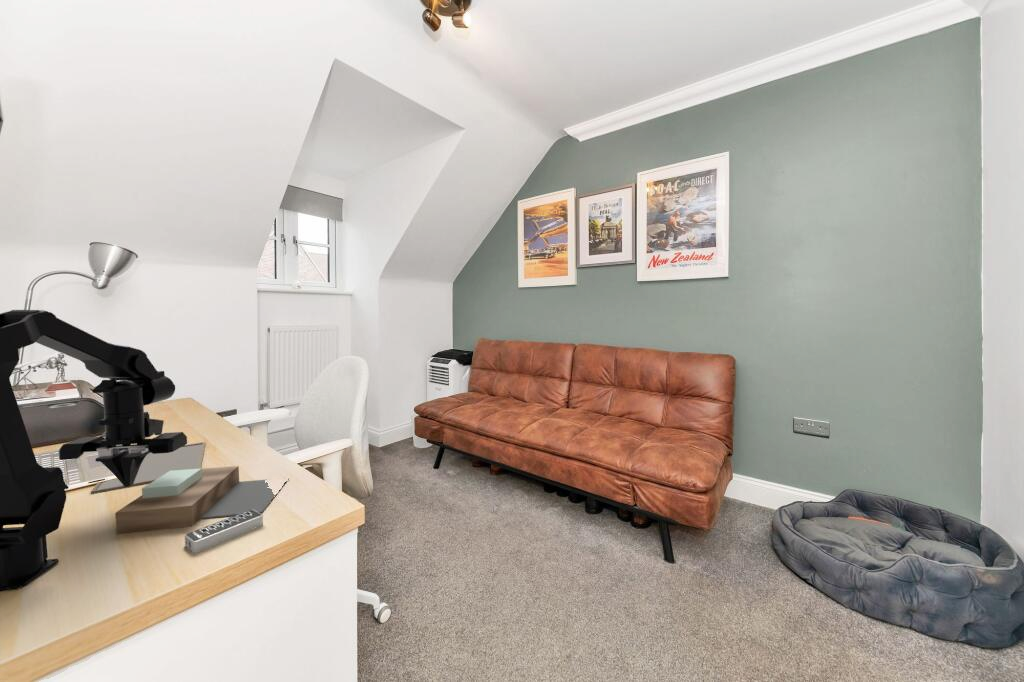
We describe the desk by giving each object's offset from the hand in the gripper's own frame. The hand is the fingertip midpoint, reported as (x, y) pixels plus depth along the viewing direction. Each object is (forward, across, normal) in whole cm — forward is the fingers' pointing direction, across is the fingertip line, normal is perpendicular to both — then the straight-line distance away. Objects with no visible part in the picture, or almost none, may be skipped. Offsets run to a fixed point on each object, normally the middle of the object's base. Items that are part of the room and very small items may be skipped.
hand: (128, 486), depth 80 cm
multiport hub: (+6, -23, +15) cm, 28 cm away
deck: (+5, -10, 0) cm, 11 cm away
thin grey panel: (+6, +10, -27) cm, 29 cm away
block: (+1, -8, 0) cm, 8 cm away
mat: (+5, -21, -1) cm, 22 cm away
